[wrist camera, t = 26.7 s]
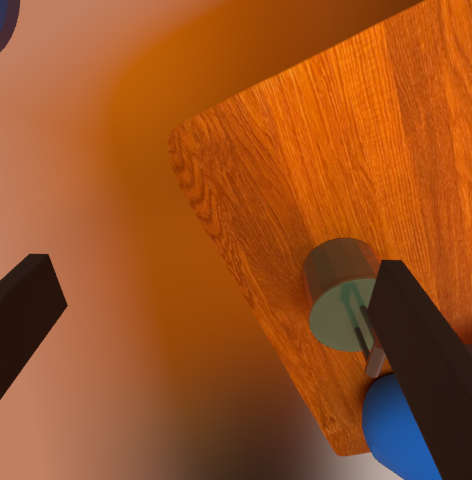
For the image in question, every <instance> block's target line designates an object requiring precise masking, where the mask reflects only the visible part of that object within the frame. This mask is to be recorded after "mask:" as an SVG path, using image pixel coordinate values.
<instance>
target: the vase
mask: <svg viewBox="0 0 472 480" xmlns="http://www.w3.org/2000/svg"><path fill="white" fill-rule="evenodd" d="M362 429H363V432H364V436H365V439H366V442H367V445H368V447H369V449H370V451H371V453H372V454H373V456H374V458H375V459H376V460H377V461H378V462H379V463H381V464H382V465H384V466H385V467H387V468H388V469H390V470H391V471H393V472H394V473H396V474H397V475H398V476H400V477H401V478H403V479H404V480H442V478H441V476H440V474H439V471H438V469H437V467H436V465H435V463H434V460H433V458H432V456H431V454H430V452H429V449H428V447H427V445H426V443H425V441H424V438H423V436H422V434H421V432H420V430H419V427H418V425H417V423H416V421H415V419H414V416H413V414H412V412H411V410H410V408H409V405H408V403H407V401H406V399H405V397H404V394H403V392H402V390H401V388H400V385H399V383H398V381H397V379H396V377H395V374H389V375H386V376H383V377H381V378H380V379H378V380H377V381H375V382H374V383H373V385H372V386H371V387H370V389H369V390H368V392H367V394H366V397H365V400H364V403H363V411H362Z"/></svg>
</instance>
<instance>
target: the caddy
mask: <svg viewBox="0 0 472 480" xmlns="http://www.w3.org/2000/svg"><path fill="white" fill-rule="evenodd" d="M380 264H381V260H380V258H379V257H378V255H377V254H376V253H375V252H374V250H373V249H372V248H371V247H370V246H369V245H368V244H366V243H364V242H362V241H360V240H357V239H352V238H339V239H334V240H330V241H327V242H325V243H323V244H321V245H319V246H318V247H316V248H315V249H314V250H313V251H312V252H311V253H310V254H309V255H308V256H307V258H306V260H305V261H304V264H303V268H302V280H303V284H304V288H305V292H306V297H307V301H308V305H309V309H311V306H312V304H313V303H314V301H315V300H316V299H317V297H318V296H319V295H320V294H321V293H322V292H323V291H325V290H326V289H327V288H329V287H331V286H332V285H334V284H336V283H338V282H341V281H344V280H346V279H350V278H355V277H363V276H372V277H377V274H378V271H379V267H380Z"/></svg>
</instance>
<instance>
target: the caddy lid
mask: <svg viewBox="0 0 472 480" xmlns="http://www.w3.org/2000/svg"><path fill="white" fill-rule="evenodd" d="M376 278H377V277H372V276H363V277H355V278H350V279H346V280H344V281H341V282H338V283H336V284H334V285H332V286H331V287H329V288H327V289H326V290H325V291H323V292H322V293H321V294H320V295H319V296H318V297H317V299H316V300H315V301H314V303H313V304H312V306H311V309H310V312H309V326H310V329H311V331H312V333H313V335H314V336H315V338H316V339H317V340H318V341H319V342H321V343H322V344H324V345H325V346H327V347H330V348H332V349H335V350H339V351H347V352H358V351H362V353H363V356H364V358H365V361H366V367H365V373H366V374H367V375H368V376H370V377H372V378H376V377H378V376H379V373H380V370H381V368H382V365H383V362H384V360H385V357H386V355H385V352H384V350H383V348H382V346H381V344H380V341H379V339H378V337H377V335H376V333H375V330H374V328H373V326H372V324H371V322H370V319H369V317H368V315H367V313H366V312H367V309H368V305H369V302H370V298H371V295H372V292H373V288H374V285H375V281H376ZM370 349H371V351H370V352H369V350H370Z"/></svg>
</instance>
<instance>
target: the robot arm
mask: <svg viewBox="0 0 472 480" xmlns="http://www.w3.org/2000/svg"><path fill="white" fill-rule="evenodd" d="M67 306H68V305H67V303H66V300H65V297H64V295H63V292H62V289H61V287H60V284H59V281H58V279H57V276H56V273H55V271H54V268H53V266H52V263H51V260H50V257H49V255H48V254H29V255H28V256H27V257H25V258H24V259H23V260H22V261H21V262H20V263H19V264H18V265H17V266H16V267H14V268H13V269H12V270H11V271H10V272H9V273H8V274H7V275H6V276H5V277H4V278H3V279H1V280H0V400H1V398H2V397H3V395H4V394H5V393H6V391H7V390H8V388H9V387H10V386H11V384H12V383H13V381H14V380H15V379H16V377H17V376H18V374H19V373H20V372H21V370H22V369H23V367H24V366H25V365H26V363H27V362H28V360H29V359H30V358H31V356H32V355H33V353H34V352H35V351H36V349H37V348H38V347H39V345H40V344H41V342H42V341H43V340H44V338H45V337H46V335H47V334H48V332H49V331H50V330H51V328H52V327H53V326H54V324H55V323H56V321H57V320H58V319H59V317H60V316H61V314H62V313H63V312H64V310H65V309H66V307H67ZM366 313H367V315H368V317H369V319H370V322H371V324H372V326H373V328H374V330H375V333H376V335H377V337H378V339H379V341H380V344H381V346H382V348H383V350H384V352H385V355H386V357H387V359H388V361H389V363H390V366H391V368H392V370H393V372H394V374H395V377H396V379H397V381H398V383H399V385H400V388H401V390H402V392H403V394H404V397H405V399H406V401H407V403H408V405H409V408H410V410H411V412H412V414H413V416H414V419H415V421H416V423H417V425H418V427H419V430H420V432H421V434H422V436H423V438H424V441H425V443H426V445H427V447H428V449H429V452H430V454H431V456H432V458H433V460H434V463H435V465H436V467H437V469H438V471H439V474H440V476H441V478H442V480H472V344H463V342H462V341H461V340H460V338H459V337H458V336H457V334H456V333H455V332H454V330H453V329H452V327H451V326H450V325H449V323H448V322H447V321H446V319H445V318H444V317H443V315H442V314H441V313H440V311H439V310H438V309H437V307H436V306H435V305H434V303H433V302H432V300H431V299H430V298H429V296H428V295H427V294H426V292H425V291H424V290H423V288H422V287H421V286H420V284H419V283H418V282H417V280H416V279H415V277H414V276H413V275H412V273H411V272H410V271H409V269H408V268H407V267H406V265H405V264H404V263H403V261H402V260H381V264H380V267H379V271H378V274H377V278H376V281H375V285H374V288H373V292H372V295H371V298H370V302H369V305H368V309H367V312H366Z"/></svg>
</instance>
